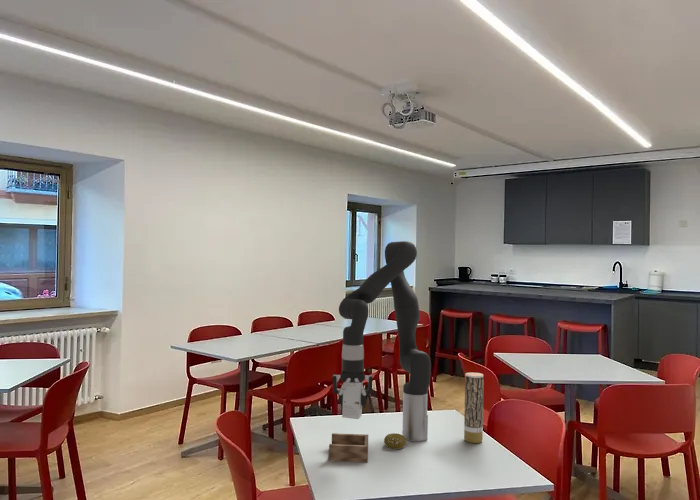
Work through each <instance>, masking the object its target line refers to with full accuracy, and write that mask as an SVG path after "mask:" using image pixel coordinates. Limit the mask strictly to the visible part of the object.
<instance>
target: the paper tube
mask: <svg viewBox="0 0 700 500" xmlns="http://www.w3.org/2000/svg"><path fill="white" fill-rule="evenodd" d="M464 377H465V378H464V418H463V421H464V422H463V423H464V424H463V426H464V428H463V432H464V433H463V439H464V441H465V442H467V443H470V444H480V443H483V439H484V437H483V436H484V435H483V433H484V430H483V429H484V422H483V421H484V387H485V386H484V384H485V383H484V380H485V379H484V374H483V373H480V372H466V373H465V374H464Z"/></svg>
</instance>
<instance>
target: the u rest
mask: <svg viewBox="0 0 700 500" xmlns="http://www.w3.org/2000/svg"><path fill="white" fill-rule="evenodd" d="M368 459H369V434H363V433H361V434H360V433H359V434H358V433H336V432H335V433H333V432H332V433H331V443H329V446H328V461H329V462H349V463H350V462H351V463H368V462H369V461H368Z"/></svg>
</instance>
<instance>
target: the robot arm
mask: <svg viewBox="0 0 700 500" xmlns="http://www.w3.org/2000/svg"><path fill="white" fill-rule="evenodd" d="M417 255H418V251H417V247H416V245H415V244H414V243H413V242H412V241H409V240H402V241H391V242H389V243H388V244H386V246H385V248H384V260H385V265H384V266H382V267H381V268H379V269H378V270H376V271H374V272H373V273H372V274H370V275H369V276H368V277H367V278H366V279H365V280H364V282H363V283H362V284H361V285H360V286H359V287H358V288H357V289H355V290H353V291H352V292H350V293H349V294H348V295H347V296H345V297H344V298H343V299H342V300H341V301H340V302H339V303H340V304H339V306H338V313H339V315H340V317H342V318H344V319H345V320H347V319H348V320H351V323H350V325H349V326H345V327H344V328H343V331H342V348H341V349H342V350H341V373H340V374H335V373H334V374H333V375H332V391H333V394H336V395H338V405H340V407H343V390H345V389H346V387H347V385H348V384H349V382H356V383H362V382H363V383H364V380H366V382H367V385H368V387H367V389H366V388H365V387H364V385H361V392H362V407H365V405H366V404H367V396H368V395H371V394H372V390H373V375H372V374H369V375H366V374H365V373H364V371H365V369H364V368H365V366H364V365H365V364H364V363H365V349H364V348H365V347H364V331H365V328H366V324H367V321H368V317H369V306H368V304H372V303H373V302H374V301H375V300H376V299H377V298H378V297H379V295H380V294H381V293H382V292H383V291H384V289H386V287H387V286H388V285H389V284H390V286H391V292H392V300H393V308H394V314H395V319H396V326H397V327H396V328H397V336H398V348H399V349H398V350H399V351H398V352H399V353H398V355H399V362H400V364H399V365H400V367H401V368H402V370H403V371H404V372H406V373H408V374H409V381H408V382H405V383H404V384H403V388H402V391H403V393H402V434H401V435H403V436H404V437H405V439H406V441H410V442H424V441H428V434H429V433H428V425H429V415H428V391H429V387H430V385H431V375H432V374H431V372H432V371H431V370H432V362H431V357H430V356H429V354H428V353H427V352H424V351H422V350H419V349H418V346H417V341H416V339H417V338H416V331H417V329H418V324H419V321H420V314H421V313H420V307H419V299H418V296H417V295H416V294H417V293H415V291H414V290H413V288H412V286H411V285H410V283H409V282H408V280H407V278H406V276H405V272H404V271H405V270H406V269H408V268H409V267H410V266H411V265H412V264H413V263H414V262H415V260H416V258H417ZM340 380H341V381H342V383H344V382H345V383H344V385H343V384H342V385H341V387H340V389H339V388H338V382H339V381H340Z"/></svg>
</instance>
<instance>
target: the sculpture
mask: <svg viewBox="0 0 700 500" xmlns="http://www.w3.org/2000/svg"><path fill="white" fill-rule="evenodd" d="M383 443H384V445H385V446H386V447H387V448H389V449H393V450H399V449H403V448H404V447H405V446H406V444H407V440H406V439H405V437H404V436H403V435H402V434H400V433H394V432H393V433H388V434H386V436H385V437H384V439H383Z"/></svg>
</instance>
